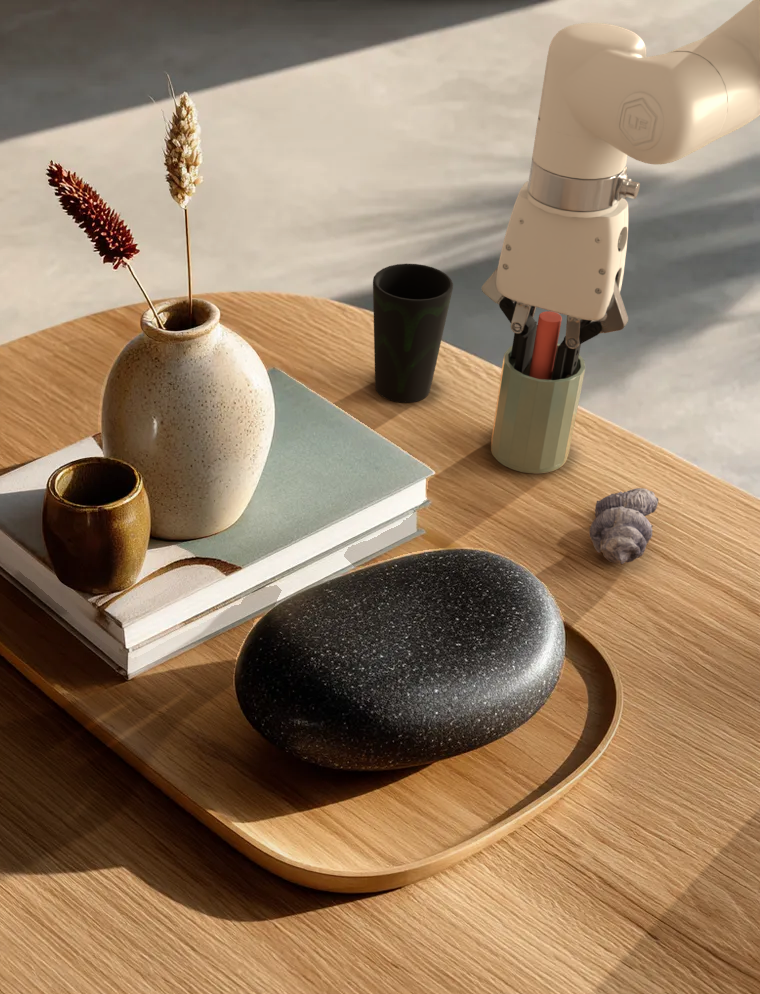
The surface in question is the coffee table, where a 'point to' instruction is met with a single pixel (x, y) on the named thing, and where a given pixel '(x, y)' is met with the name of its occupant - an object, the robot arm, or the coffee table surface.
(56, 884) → the coffee table surface
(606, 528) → the seashell
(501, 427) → the tumbler
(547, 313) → the rod
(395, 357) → the cup
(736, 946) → the coffee table surface
